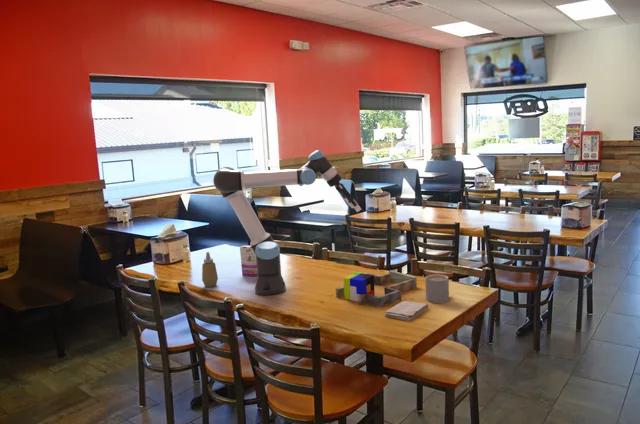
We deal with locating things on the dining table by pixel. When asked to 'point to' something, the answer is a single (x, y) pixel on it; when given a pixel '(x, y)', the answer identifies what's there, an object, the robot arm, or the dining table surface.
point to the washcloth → (406, 310)
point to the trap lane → (386, 289)
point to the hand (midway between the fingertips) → (356, 208)
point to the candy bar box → (248, 261)
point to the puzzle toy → (358, 285)
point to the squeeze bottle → (209, 272)
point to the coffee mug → (437, 288)
